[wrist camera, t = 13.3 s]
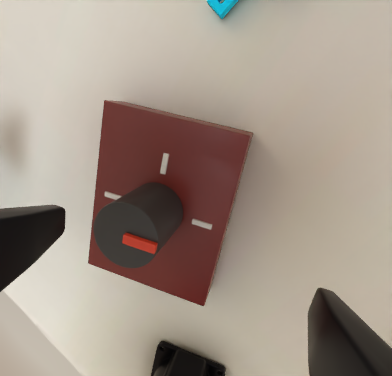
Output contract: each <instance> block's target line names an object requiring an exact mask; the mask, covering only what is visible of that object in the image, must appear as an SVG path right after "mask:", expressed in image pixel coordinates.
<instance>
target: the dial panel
mask: <svg viewBox="0 0 392 376" xmlns="http://www.w3.org/2000/svg"><path fill="white" fill-rule="evenodd" d="M252 135H253V133H251V132H247V131H243V130H239V129H235V128H231V127H226V126H222V125H218V124H214V123H210V122H206V121H201V120H197V119H193V118H189V117H185V116H181V115H176V114H172V113H168V112H164V111H160V110H156V109H151V108H147V107H143V106H139V105H135V104H131V103H126V102H120V101H107V100H105V101H104V109H103V119H102V129H101V139H100V149H99V159H98V169H97V179H96V190H95V200H94V210H93V220H92V230H91V240H90V250H89V260H88V263H89V264H91V265H94V266H97V267H99V268H102V269H105V270H108V271H110V272H113V273H116V274H118V275H121V276H124V277H126V278H129V279H132V280H134V281H137V282H140V283H142V284H145V285H148V286H150V287H153V288H156V289H158V290H161V291H164V292H166V293H169V294H172V295H174V296H177V297H180V298H183V299H185V300H188V301H191V302H193V303H196V304H199V305H201V306H204V305H205V302H206V299H207V296H208V293H209V291H210V288H211V284H212V281H213V277H214V273H215V270H216V266H217V263H218V259H219V255H220V252H221V248H222V244H223V241H224V237H225V233H226V230H227V226H228V223H229V219H230V215H231V212H232V208H233V204H234V201H235V197H236V194H237V190H238V186H239V183H240V179H241V175H242V172H243V168H244V164H245V161H246V157H247V154H248V150H249V146H250V143H251V139H252ZM151 182H155V183H161V184H164V185H166V186H168V187H169V188H171V189H172V190H173V191H174V192H175V193H176V194H177V196H178V197H179V199H180V201H181V203H182V207H183V219H182V222H181V224H180V226H179V227H178V229H177V230H176V231H175V232H174V234H173V235H172V236H171V237H170V238H169V240H168V241H167V242H166V243H165V245H164V246H163V247H162V248H161V250H160V251H159V252H158V253H157V254H156V256H155V257H154V258H153V259H152V260H151V261H150V262H149V263H148V264H146V265H145V266H142V267H139V268H125V267H121V266H119V265H116V264H115V263H113V262H111V261H110V260H109V259H108V258H107V257H105V255H104V254H103V253H102V252H101V251H100V249H99V247H98V245H97V243H96V241H95V237H94V231H93V226H94V221H95V218H96V216H97V214H98V212H99V211H100V210H101V209H102V208H103V207H104V206H106V205H107V204H109V203H111V202H113V201H115V200H116V199H118V198H120V197H122V196H124V195H125V194H127V193H129V192H131V191H133V190H134V189H136V188H138V187H140V186H142V185H143V184H146V183H151Z"/></svg>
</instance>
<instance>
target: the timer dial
mask: <svg viewBox="0 0 392 376" xmlns="http://www.w3.org/2000/svg"><path fill="white" fill-rule="evenodd" d="M182 219H183V207H182V203H181V201H180V199H179V197H178V196H177V194H176V193H175V192H174V191H173V190H172V189H171V188H169V187H168V186H166V185H164V184H161V183H155V182H151V183H146V184H143V185H142V186H140V187H138V188H136V189H134V190H133V191H131V192H129V193H127V194H125V195H124V196H122V197H120V198H118V199H116V200H115V201H113V202H111V203H109V204H107V205H106V206H104V207H103V208H102V209H101V210H100V211H99V212H98V214H97V216H96V218H95V221H94V226H93V231H94V237H95V241H96V243H97V245H98V247H99V249H100V251H101V252H102V253H103V254H104V255H105V257H107V258H108V259H109V260H110V261H111V262H113V263H115V264H116V265H119V266H121V267H125V268H139V267H142V266H145V265H146V264H148V263H149V262H150V261H151V260H152V259H153V258H154V257H155V256H156V254H157V253H158V252H159V251H160V250H161V248H162V247H163V246H164V245H165V243H166V242H167V241H168V240H169V238H170V237H171V236H172V235H173V234H174V232H175V231H176V230H177V229H178V227H179V226H180V224H181V222H182Z"/></svg>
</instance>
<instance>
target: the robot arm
mask: <svg viewBox="0 0 392 376" xmlns="http://www.w3.org/2000/svg"><path fill="white" fill-rule="evenodd" d="M64 229H65V209H64V208H62V207H60V206H56V205H44V206H30V207H17V208H4V209H0V292H1V291H2V290H3V289H4V288H6V287H7V286H8V285H9V284H10V283H12V282H13V281H14V280H15V279H16V278H17V277H19V276H20V275H21V274H22V273H23V272H24V271H26V270H27V269H28V268H29V267H30V266H31V265H32V264H34V263H35V262H36V261H37V260H38V259H39V258H40V257H41V256H42V255H43V253H44V252H45V251H46V250H47V249H48V248H49V247H50V246H51V245H52V244H53V243H54V242H55V241H56V240H57V239H58V238H59V237H60V236H61V235H62V234H63V232H64ZM308 364H309V374H310V376H392V348H391V347H390V346H389V345H388V344H387V343H386V342H385V341H383V340H382V339H381V338H380V337H379V336H378V335H377V334H376V333H375V332H374V331H373V330H372V329H371V328H370V327H369V326H368V325H367V324H366V323H365V322H364V321H363V320H362V319H361V318H360V317H359V316H358V315H357V314H356V313H355V312H354V311H353V310H352V309H350V308H349V307H348V306H347V305H346V304H345V303H344V302H343V301H342V300H341V299H340V298H339V297H338V296H337V295H336V294H335V293H334V292H332V291H330V290H327V289H323V288H318V289H317V291H316V293H315V295H314V298H313V300H312V303H311V305H310V308H309V311H308ZM225 372H226V369H225V367H224V366H222V365H220V364H218V363H216V362H213V361H211V360H208V359H206V358H203V357H201V356H199V355H196V354H194V353H191V352H189V351H186V350H184V349H181V348H179V347H177V346H174V345H172V344H169V343H167V342H164V341H161V342H159V344H158V346H157V350H156V355H155V359H154V364H153V369H152V373H151V376H225Z"/></svg>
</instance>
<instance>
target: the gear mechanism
mask: <svg viewBox="0 0 392 376" xmlns="http://www.w3.org/2000/svg"><path fill="white" fill-rule="evenodd" d="M220 1H221V0H207V2H208V4H209V6H210V7H211V8H212V9H213V10H214V11H215V12H216V13H217V15H218V16H219V17H220V18H221V19H223V18H224V17H225V15H226V14H227V13H228V12H229V11H230V10H231V8H232V7H233V6H234V5H235V4H236V3H237V2H238V0H224V2H223V3H220Z"/></svg>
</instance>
